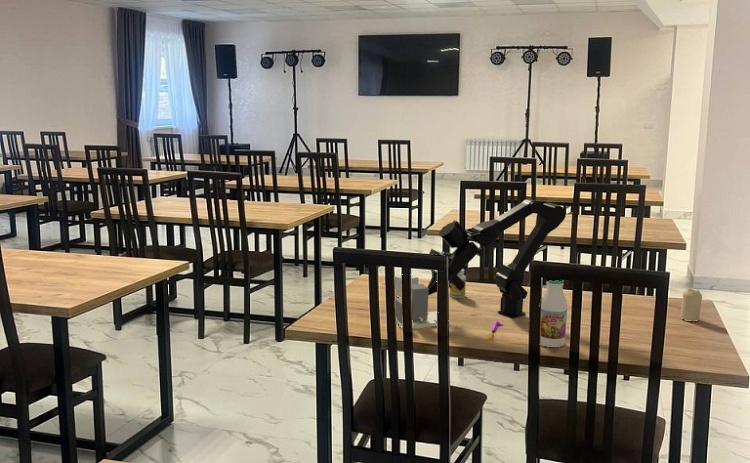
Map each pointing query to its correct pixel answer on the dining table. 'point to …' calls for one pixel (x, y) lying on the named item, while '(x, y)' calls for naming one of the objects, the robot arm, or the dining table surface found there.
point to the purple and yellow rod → (494, 329)
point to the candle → (691, 305)
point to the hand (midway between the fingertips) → (425, 294)
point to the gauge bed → (416, 324)
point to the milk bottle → (553, 315)
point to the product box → (398, 283)
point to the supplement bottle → (454, 291)
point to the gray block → (419, 302)
